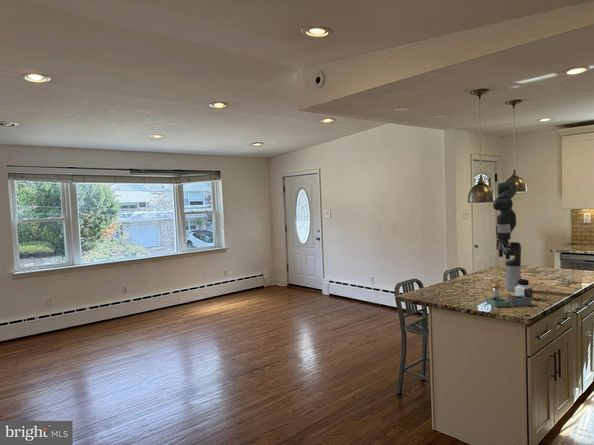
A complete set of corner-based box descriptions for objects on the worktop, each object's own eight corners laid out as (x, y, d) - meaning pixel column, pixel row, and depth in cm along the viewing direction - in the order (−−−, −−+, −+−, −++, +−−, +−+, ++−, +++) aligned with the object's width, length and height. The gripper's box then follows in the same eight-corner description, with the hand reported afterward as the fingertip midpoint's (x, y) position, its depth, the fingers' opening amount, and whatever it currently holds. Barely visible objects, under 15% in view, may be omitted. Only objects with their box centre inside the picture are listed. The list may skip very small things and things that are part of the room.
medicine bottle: (524, 299, 257) (524, 280, 257) (514, 297, 264) (514, 279, 263) (532, 298, 260) (532, 279, 260) (522, 296, 267) (522, 277, 266)
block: (508, 302, 253) (508, 295, 253) (522, 301, 253) (522, 295, 252) (515, 306, 244) (515, 299, 244) (531, 305, 244) (531, 298, 243)
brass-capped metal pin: (490, 302, 253) (490, 284, 252) (498, 302, 252) (497, 283, 252) (494, 303, 248) (493, 285, 248) (501, 303, 248) (501, 285, 248)
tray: (486, 302, 254) (486, 297, 254) (499, 302, 254) (499, 297, 254) (495, 307, 242) (495, 302, 242) (509, 307, 242) (509, 302, 242)
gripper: (491, 230, 257) (492, 256, 258) (503, 233, 243) (503, 260, 244) (504, 230, 257) (504, 255, 258) (515, 232, 243) (516, 259, 244)
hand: (504, 258), depth 251 cm, fingers open, 8 cm apart
